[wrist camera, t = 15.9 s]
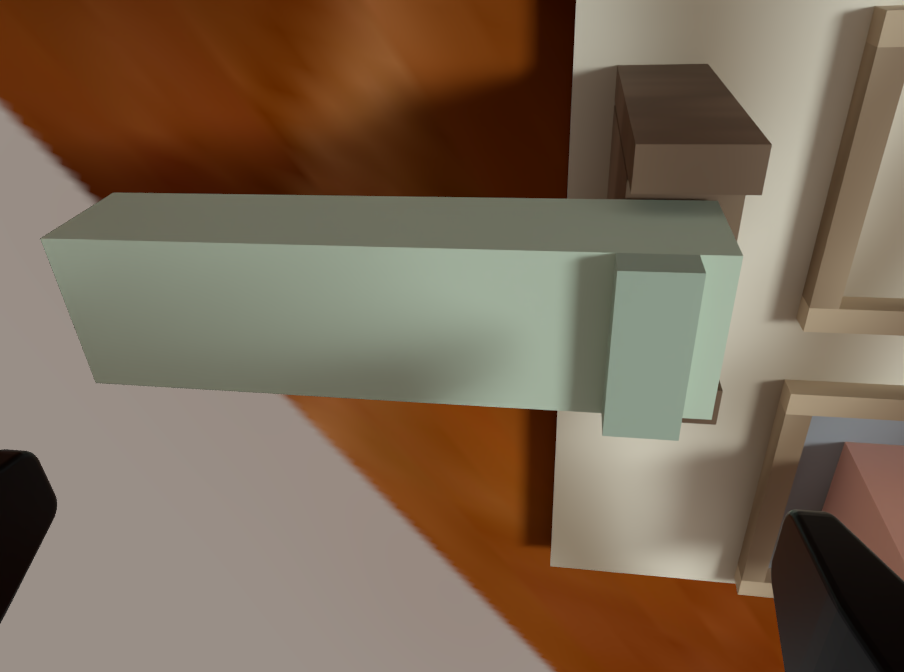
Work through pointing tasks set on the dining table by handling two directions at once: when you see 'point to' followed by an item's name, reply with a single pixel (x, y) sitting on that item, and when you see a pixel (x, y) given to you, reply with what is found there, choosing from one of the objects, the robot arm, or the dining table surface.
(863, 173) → the board
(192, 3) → the dining table surface
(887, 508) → the block
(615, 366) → the bar
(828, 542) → the robot arm
